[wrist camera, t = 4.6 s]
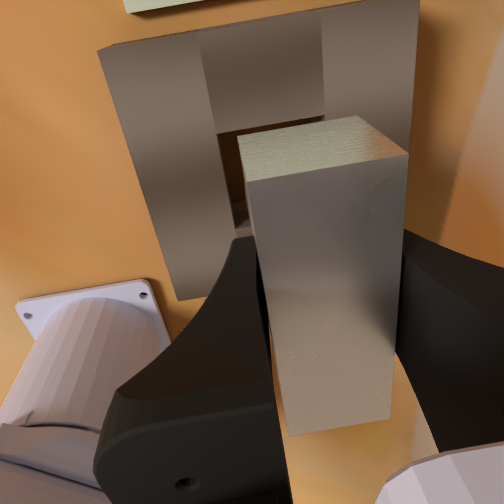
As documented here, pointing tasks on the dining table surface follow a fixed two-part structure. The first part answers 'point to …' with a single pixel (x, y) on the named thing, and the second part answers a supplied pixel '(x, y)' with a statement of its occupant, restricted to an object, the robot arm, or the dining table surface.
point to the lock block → (249, 109)
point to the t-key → (329, 264)
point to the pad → (151, 4)
